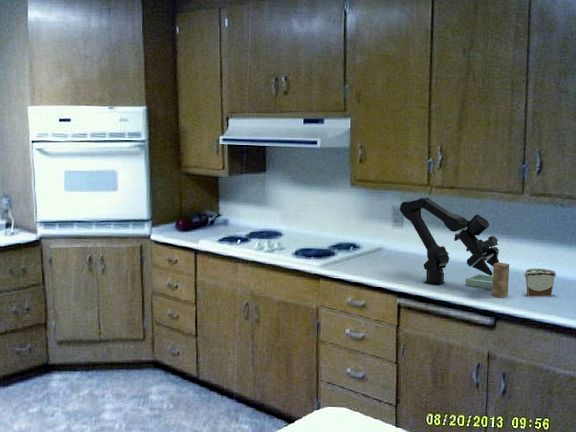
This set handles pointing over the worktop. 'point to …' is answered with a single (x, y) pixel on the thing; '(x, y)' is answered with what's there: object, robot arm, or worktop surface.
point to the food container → (539, 282)
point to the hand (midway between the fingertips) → (496, 273)
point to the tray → (480, 281)
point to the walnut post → (500, 280)
